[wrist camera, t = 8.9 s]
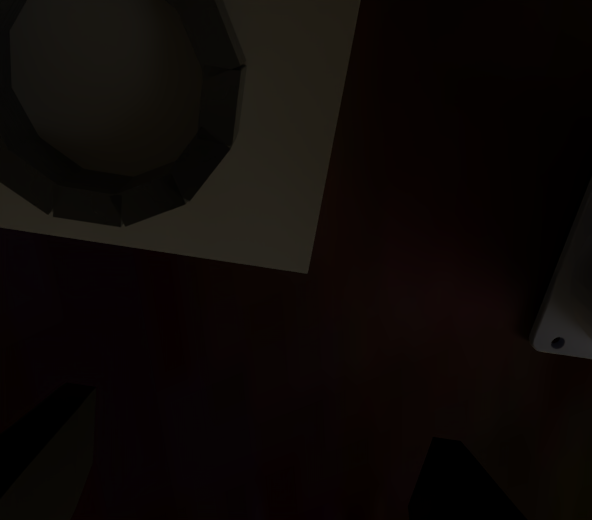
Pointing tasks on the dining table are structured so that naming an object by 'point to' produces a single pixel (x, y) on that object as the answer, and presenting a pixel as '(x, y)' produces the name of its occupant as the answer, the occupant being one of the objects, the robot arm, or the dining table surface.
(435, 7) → the dining table surface
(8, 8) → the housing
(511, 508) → the robot arm
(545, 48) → the dining table surface
